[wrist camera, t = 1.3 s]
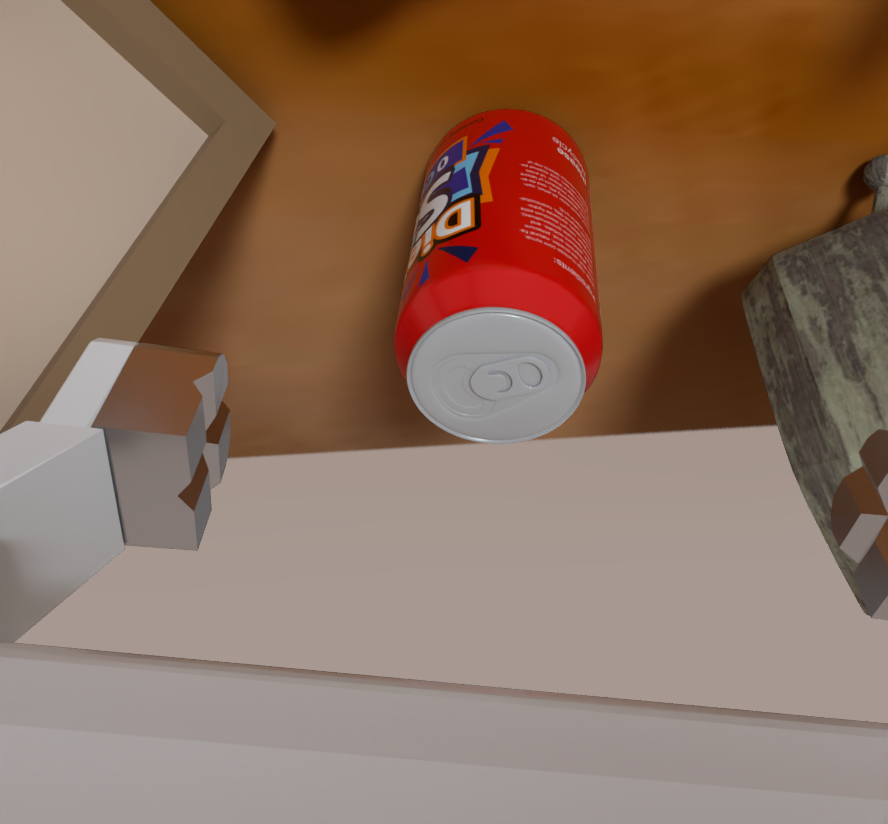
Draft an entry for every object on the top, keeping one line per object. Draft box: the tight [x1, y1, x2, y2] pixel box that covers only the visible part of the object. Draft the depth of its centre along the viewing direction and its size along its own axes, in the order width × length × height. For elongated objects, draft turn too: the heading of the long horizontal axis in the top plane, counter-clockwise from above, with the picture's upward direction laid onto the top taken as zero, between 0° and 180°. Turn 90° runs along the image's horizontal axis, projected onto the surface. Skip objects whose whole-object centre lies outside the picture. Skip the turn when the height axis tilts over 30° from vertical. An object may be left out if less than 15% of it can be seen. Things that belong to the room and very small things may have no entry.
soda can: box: [394, 109, 603, 444], centre depth 35 cm, size 8×8×15 cm
